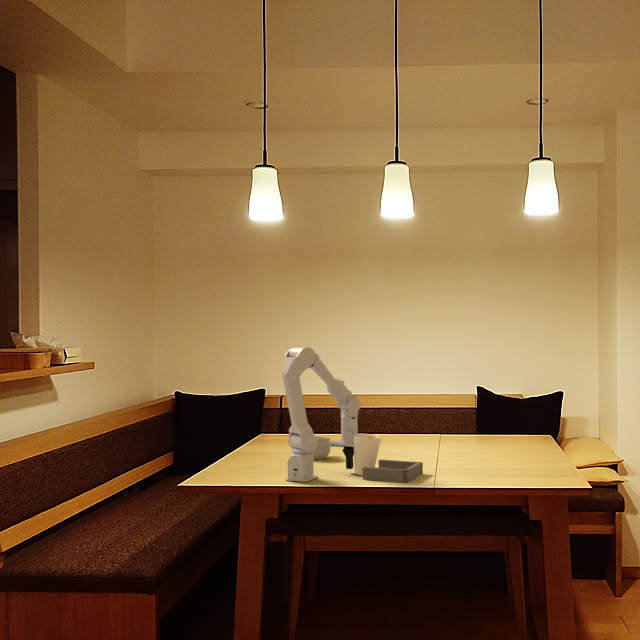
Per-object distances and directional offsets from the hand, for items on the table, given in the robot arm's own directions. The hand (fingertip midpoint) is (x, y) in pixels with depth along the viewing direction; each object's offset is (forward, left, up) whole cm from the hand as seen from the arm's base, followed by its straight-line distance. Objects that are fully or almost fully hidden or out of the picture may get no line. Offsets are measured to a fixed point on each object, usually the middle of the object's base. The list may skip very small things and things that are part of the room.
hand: (349, 468), depth 286 cm
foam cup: (0, -5, -2) cm, 6 cm away
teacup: (+25, +23, -2) cm, 34 cm away
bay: (0, -15, -2) cm, 15 cm away
